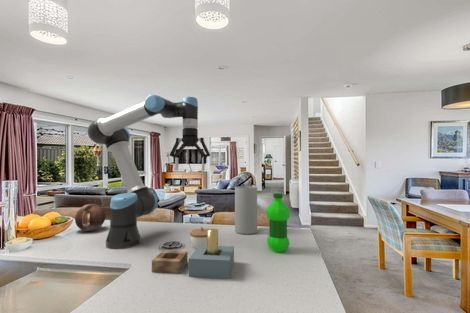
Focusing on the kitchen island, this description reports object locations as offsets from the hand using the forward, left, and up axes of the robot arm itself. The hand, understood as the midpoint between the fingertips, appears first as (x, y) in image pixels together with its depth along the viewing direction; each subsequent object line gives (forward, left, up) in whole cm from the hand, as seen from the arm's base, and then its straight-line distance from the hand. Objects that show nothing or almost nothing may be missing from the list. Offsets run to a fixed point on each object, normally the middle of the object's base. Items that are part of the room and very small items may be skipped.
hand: (189, 170), depth 124 cm
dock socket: (+18, -31, -35) cm, 50 cm away
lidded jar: (+9, -11, -35) cm, 38 cm away
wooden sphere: (-61, +11, -35) cm, 71 cm away
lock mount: (+2, -31, -35) cm, 47 cm away
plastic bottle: (+43, -9, -35) cm, 56 cm away
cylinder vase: (+27, +19, -35) cm, 48 cm away
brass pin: (+18, -31, -35) cm, 50 cm away
